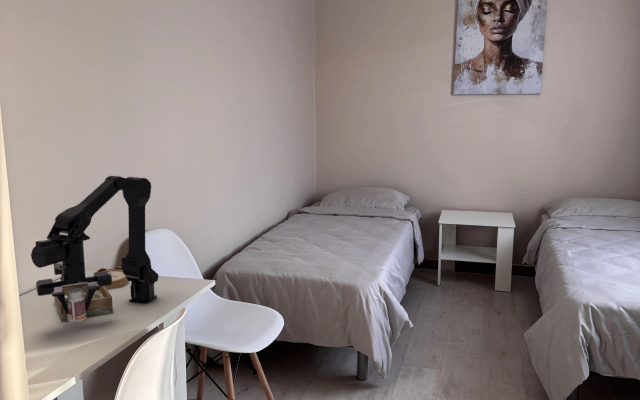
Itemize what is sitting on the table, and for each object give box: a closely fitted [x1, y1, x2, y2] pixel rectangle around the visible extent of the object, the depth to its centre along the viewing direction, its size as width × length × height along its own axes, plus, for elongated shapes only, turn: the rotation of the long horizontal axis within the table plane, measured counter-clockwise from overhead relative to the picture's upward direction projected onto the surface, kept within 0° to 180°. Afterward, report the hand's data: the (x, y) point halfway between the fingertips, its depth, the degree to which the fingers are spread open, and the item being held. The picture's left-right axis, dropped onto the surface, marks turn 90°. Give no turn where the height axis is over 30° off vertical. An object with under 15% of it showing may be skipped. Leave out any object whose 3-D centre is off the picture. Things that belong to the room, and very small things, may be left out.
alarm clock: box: [96, 266, 129, 290], centre depth 187 cm, size 11×5×15 cm
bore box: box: [54, 284, 114, 323], centre depth 164 cm, size 14×18×5 cm
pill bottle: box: [66, 288, 87, 323], centre depth 149 cm, size 5×5×8 cm
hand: (76, 312), depth 149 cm, fingers closed on pill bottle, 5 cm apart
